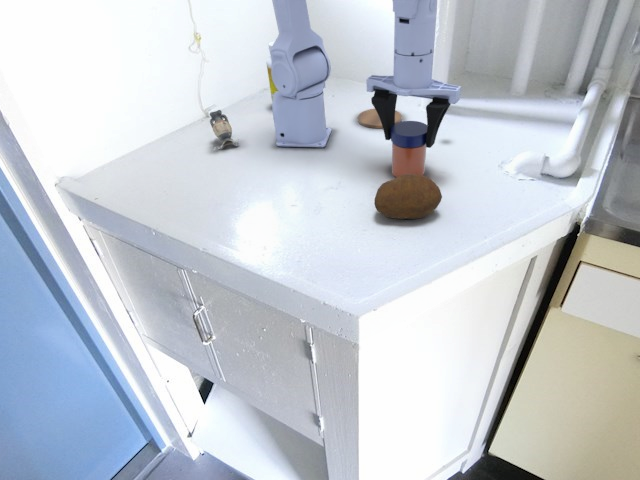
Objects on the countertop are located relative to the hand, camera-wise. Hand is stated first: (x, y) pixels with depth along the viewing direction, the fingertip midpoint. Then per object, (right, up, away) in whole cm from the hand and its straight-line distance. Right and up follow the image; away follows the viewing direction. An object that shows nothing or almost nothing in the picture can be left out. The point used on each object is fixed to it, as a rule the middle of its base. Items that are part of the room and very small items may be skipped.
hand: (409, 141), depth 76 cm
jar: (0, -4, +4) cm, 5 cm away
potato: (-1, -13, -6) cm, 14 cm away
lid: (0, +1, -1) cm, 2 cm away
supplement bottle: (-24, +17, +28) cm, 40 cm away
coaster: (-4, +11, +20) cm, 24 cm away
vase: (-34, +4, +15) cm, 38 cm away
